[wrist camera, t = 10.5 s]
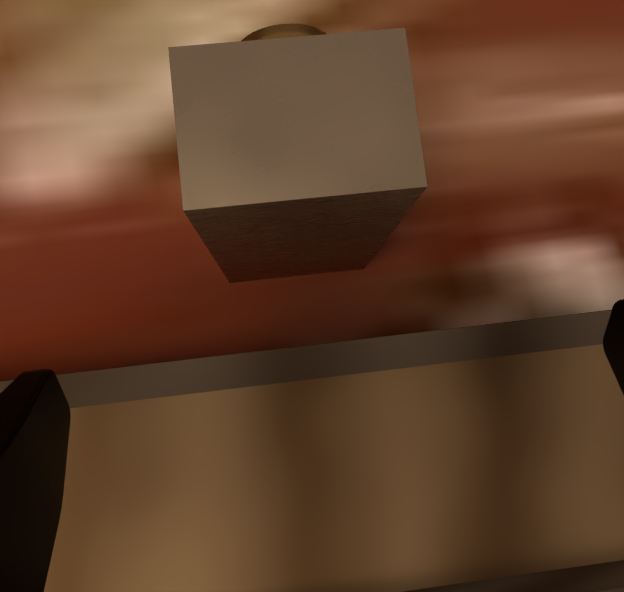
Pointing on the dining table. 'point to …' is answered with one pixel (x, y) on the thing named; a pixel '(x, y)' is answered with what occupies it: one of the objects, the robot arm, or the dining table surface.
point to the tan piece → (352, 467)
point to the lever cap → (296, 147)
